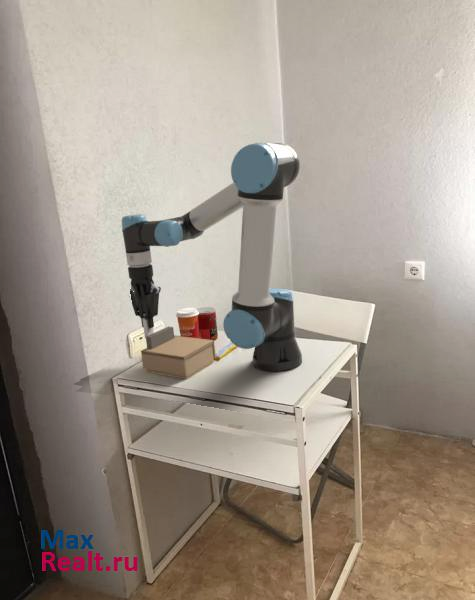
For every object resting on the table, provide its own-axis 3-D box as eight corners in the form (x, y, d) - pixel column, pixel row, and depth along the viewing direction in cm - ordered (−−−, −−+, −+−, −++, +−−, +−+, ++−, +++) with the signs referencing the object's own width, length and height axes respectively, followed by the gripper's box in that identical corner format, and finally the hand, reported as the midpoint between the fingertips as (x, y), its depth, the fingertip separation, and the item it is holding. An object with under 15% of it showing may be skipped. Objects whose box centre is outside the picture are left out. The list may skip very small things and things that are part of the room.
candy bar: (219, 362, 163) (218, 357, 163) (208, 361, 165) (207, 356, 165) (243, 345, 177) (243, 340, 177) (233, 344, 179) (232, 339, 179)
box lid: (215, 357, 163) (212, 328, 160) (185, 375, 150) (181, 344, 147) (175, 351, 171) (172, 324, 169) (143, 368, 158) (139, 339, 156)
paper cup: (176, 352, 174) (171, 313, 171) (186, 345, 181) (182, 307, 178) (196, 354, 171) (192, 314, 168) (206, 346, 178) (202, 307, 175)
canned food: (215, 342, 182) (212, 312, 179) (193, 342, 183) (190, 313, 181) (220, 335, 189) (217, 306, 186) (199, 335, 191) (196, 307, 188)
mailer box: (214, 362, 162) (212, 344, 161) (187, 379, 151) (185, 359, 149) (174, 356, 171) (172, 339, 169) (146, 371, 159) (143, 353, 158)
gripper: (116, 267, 160) (126, 338, 165) (147, 267, 153) (157, 342, 158) (132, 262, 166) (142, 331, 171) (163, 263, 159) (172, 335, 164)
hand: (149, 337), depth 165 cm, fingers closed
